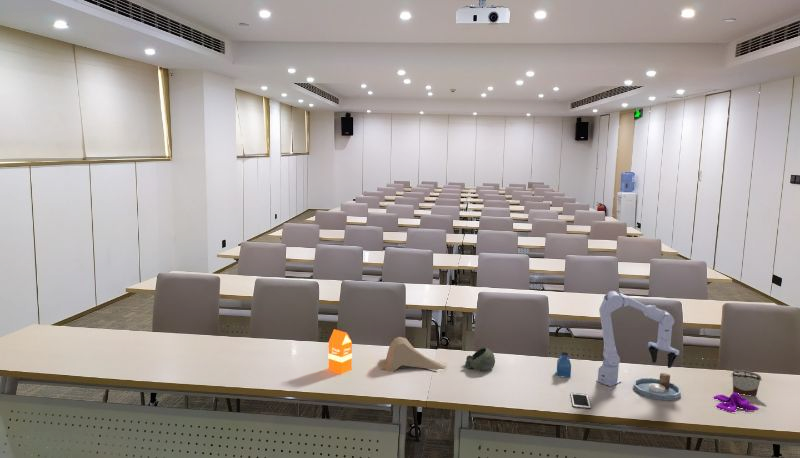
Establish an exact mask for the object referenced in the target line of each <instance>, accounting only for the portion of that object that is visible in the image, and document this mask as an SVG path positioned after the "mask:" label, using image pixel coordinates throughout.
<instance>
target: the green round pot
mask: <svg viewBox="0 0 800 458" xmlns="http://www.w3.org/2000/svg"><path fill="white" fill-rule="evenodd" d="M495 364H496V357H495V354H494V352H493V351H492V350H491V349H490V348H487V347H483V348H482V347H481V348H480V349H477V350H476V351H475V352H474V353H473V354H472V355H467V356H466V361H465V366H464V367H466V369H468V370H471V369H475V370H477V371H481V372H489V371H491V370H493V368H494V367H495Z"/></svg>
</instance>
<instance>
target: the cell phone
mask: <svg viewBox="0 0 800 458" xmlns="http://www.w3.org/2000/svg"><path fill="white" fill-rule="evenodd" d="M570 399H571V400H572V401H571V406H572V405H573V406H572V408H574V407H578V409H583V408H586V409H587V410H592V406H591V400H590V397H589V395H588V394H587V393H580V392H579V393H577V392H570Z"/></svg>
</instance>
